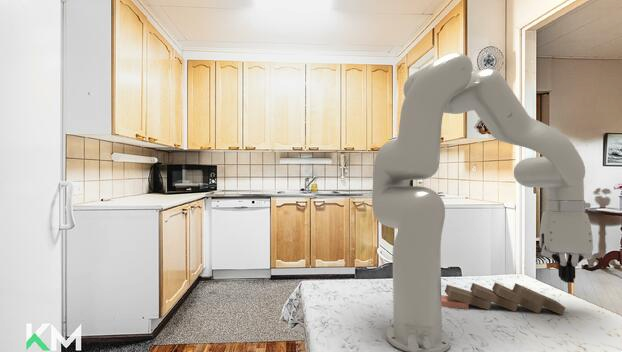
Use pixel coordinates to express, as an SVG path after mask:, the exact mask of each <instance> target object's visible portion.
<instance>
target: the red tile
mask: <svg viewBox="0 0 622 352" xmlns="http://www.w3.org/2000/svg"><path fill="white" fill-rule="evenodd" d="M441 308H455V309H467V310H469V304H468V303H465V302H461V301H458V300H455V299H452V298H449V297H448V295H442V294H441Z"/></svg>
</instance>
